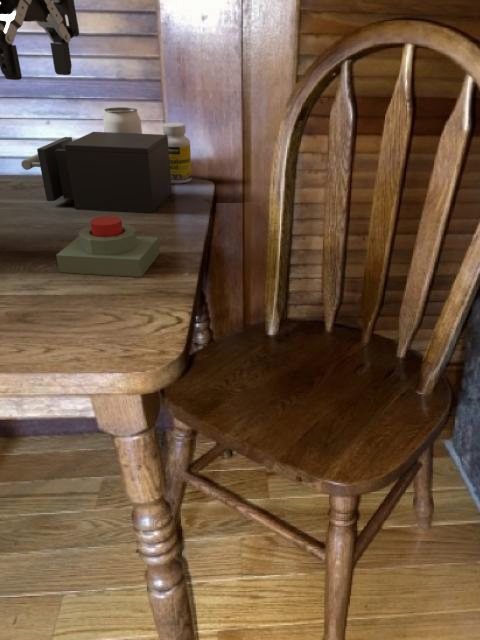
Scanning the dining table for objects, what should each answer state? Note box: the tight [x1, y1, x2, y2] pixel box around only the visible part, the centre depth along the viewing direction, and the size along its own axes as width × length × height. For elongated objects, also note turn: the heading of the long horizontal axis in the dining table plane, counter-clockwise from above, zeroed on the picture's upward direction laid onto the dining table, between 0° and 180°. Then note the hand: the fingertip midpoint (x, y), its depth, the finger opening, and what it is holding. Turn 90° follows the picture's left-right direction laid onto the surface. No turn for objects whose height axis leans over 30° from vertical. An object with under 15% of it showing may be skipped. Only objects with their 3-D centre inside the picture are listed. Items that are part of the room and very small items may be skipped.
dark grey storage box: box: [65, 131, 173, 214], centre depth 92 cm, size 13×12×10 cm
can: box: [102, 106, 143, 134], centre depth 103 cm, size 6×6×12 cm
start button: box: [89, 215, 123, 237], centre depth 68 cm, size 4×4×2 cm
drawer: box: [21, 136, 74, 202], centre depth 92 cm, size 16×10×8 cm, turn 85°
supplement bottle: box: [162, 122, 192, 185], centre depth 104 cm, size 5×5×10 cm
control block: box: [55, 223, 160, 278], centre depth 70 cm, size 10×8×4 cm
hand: (39, 76), depth 73 cm, fingers open, 8 cm apart
